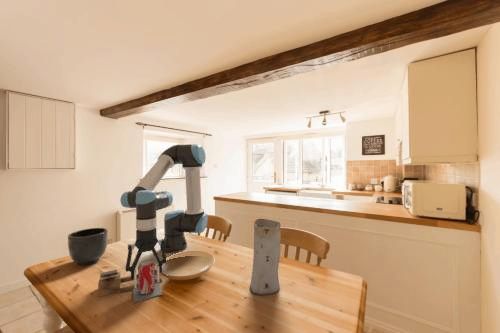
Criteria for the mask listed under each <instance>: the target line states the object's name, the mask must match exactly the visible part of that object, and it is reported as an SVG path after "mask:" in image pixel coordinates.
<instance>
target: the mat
mask: <svg viewBox="0 0 500 333" xmlns="http://www.w3.org/2000/svg"><path fill="white" fill-rule="evenodd" d="M159 283H160V282H159ZM159 283H155V289H154V290H153V291H152V292H151V293H149V294H140V293H139V289H138V288H135V289H132V298H133V304H135V303H138V302H143V301H145V300H149V299H153V298H156V297H159V296H162V295H163V293H162V290H161V287H160V284H159Z"/></svg>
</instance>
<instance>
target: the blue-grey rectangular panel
mask: <svg viewBox="0 0 500 333" xmlns="http://www.w3.org/2000/svg"><path fill="white" fill-rule="evenodd" d="M119 272H120V271H118V269H113V270H109V271H104V272H100V273H99V278H105V277H110V276H114V275H118V274H119Z"/></svg>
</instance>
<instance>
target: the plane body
mask: <svg viewBox="0 0 500 333" xmlns="http://www.w3.org/2000/svg"><path fill="white" fill-rule="evenodd" d="M118 272H119V274H118V275H114V276H110V277H105V278H100V277H99V278H98V282H97V283H98V284H97V285H98V287H97V288H98V289H97V290H98V291H97V292H98V293H97V294H98V297H101V296H106V295H109V294H112V293H116V292H120V293H123V292H128V291H133V289H135V288H134V284H131V285H126V286H122V287H121V283H122V282H126V281H131V275H128V276H123V277H121V271H118ZM155 275H157V269H155ZM136 279H138V273H136ZM162 280H163V279H162V277H159V282H157V278H155V283H162ZM137 288H138V283H137Z"/></svg>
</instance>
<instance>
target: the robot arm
mask: <svg viewBox="0 0 500 333" xmlns="http://www.w3.org/2000/svg"><path fill="white" fill-rule="evenodd" d="M206 158H207V157H206V151H205V150H204V147H203V146H202V145H201V144H194V143H193V144H192V143H191V144H174V145H172V146H170V147H168V148H167V149H165V150H163V152H161V154H159V155H158V157H157V161H156V162H155V163H154V164H153V166H152V167H151V168H150V169H149V170H148V171H147V173H146V174H145V175H144V176H143V177H142V178H141V180H140V181H139V182H138V183H137V184H136V185H135V187H134V188H133V189H132V190H129V191H125V192H123V193H122V194H121V195H120V196H121V197H120V198H119V199H120V204H121V206H122V207H123V208H128V209H136V210H135V214H136V217H135V229H136V230H135V231H136V232H135V235H136V236H135V237H136V238H135V242H134V243H132V244H130V243H128V244H127V251H128V252H127V257H126V262H125V263H126V264H125V272H126V273H127V272H130V276H131V280H132V281H133V285H134V288H137V284H138V278H136V274H137V266H138V263H139V260H140V258H141V256H142V254H143V253H146V252H152V254H153V256H154V258H155V260H156V262H157V263H156V265H155V267H156V270H157V274H156V279H157V282H159V278H160V274H162V272H163V265H164V264H166V263H167V256H166V253H177V252H181V251H184V250H186V249H187V247H188V242H187V239H186V236H185V233H191V234H202V233H204V232H205V230H206V228H207V226H208V222H209V221H208V220H209V216H208V213H205V209H204V208H203V207H202V193H201V192H202V189H201V169H202V168H203V165H204V164H205V162H206ZM176 165H182V166H181V167H182V169H184V171H185V172H184V173H185V190H186V191H185V193H186V196H185V197H186V209H185V210H183V209H177V210H171V211H169V212H166V213H165V214H164V218H163V224H164V227H163V228H164V238H161V239H159V238H157V211H159V210H163V209H166V208H167V207H168V208H169V207H170V206H171V205H172V204H173V201H174V198H173V195H172V193H171V192H170V191H168V190H166V191H165V190H163V191H156V190H155V188H156V187H157V185H159V183H160V182H161V180H162V179H163V178H164V176H165V175H166V173H168V171H169V170H170V169H171V168H174V166H176ZM157 244H158V245H159V247H160V252H161V257H162V259H161V258H160V256H159V254H158V252H157V250H156V248H155V247H156V245H157ZM135 247H136V248H137V252H136V255H135V256H134V260H133V262H132V264H131V260H132V256H133V250H135ZM131 280H130V281H131ZM159 283H160V282H159Z"/></svg>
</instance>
